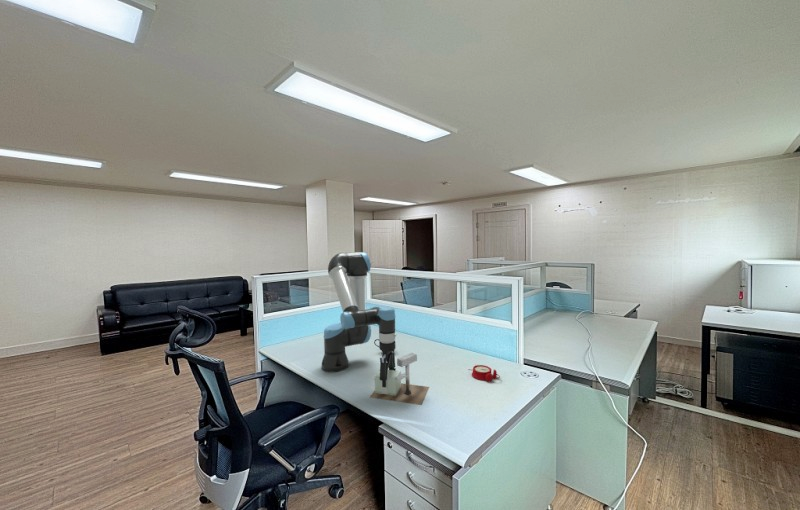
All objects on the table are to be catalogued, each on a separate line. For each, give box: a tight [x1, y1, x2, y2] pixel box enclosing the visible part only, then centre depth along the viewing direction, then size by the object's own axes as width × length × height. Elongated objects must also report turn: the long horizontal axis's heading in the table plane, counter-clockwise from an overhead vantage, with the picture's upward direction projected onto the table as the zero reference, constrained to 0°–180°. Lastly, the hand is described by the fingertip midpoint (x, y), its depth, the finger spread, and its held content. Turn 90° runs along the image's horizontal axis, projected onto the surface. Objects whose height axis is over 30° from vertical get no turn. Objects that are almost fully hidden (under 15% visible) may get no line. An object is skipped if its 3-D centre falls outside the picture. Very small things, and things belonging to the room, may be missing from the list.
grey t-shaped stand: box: [395, 352, 418, 392], centre depth 138 cm, size 12×3×16 cm, turn 135°
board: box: [369, 382, 430, 406], centre depth 140 cm, size 24×16×2 cm
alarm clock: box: [468, 364, 501, 383], centre depth 156 cm, size 10×6×15 cm
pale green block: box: [374, 369, 402, 396], centre depth 142 cm, size 10×8×8 cm
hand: (388, 388), depth 142 cm, fingers closed on pale green block, 8 cm apart
